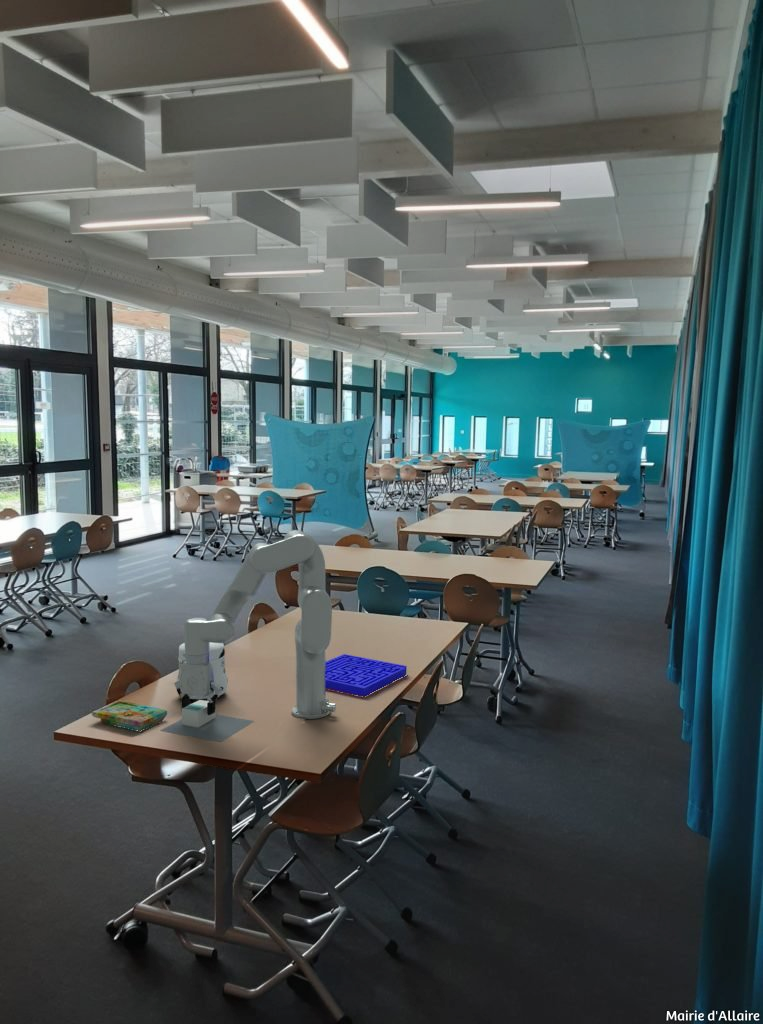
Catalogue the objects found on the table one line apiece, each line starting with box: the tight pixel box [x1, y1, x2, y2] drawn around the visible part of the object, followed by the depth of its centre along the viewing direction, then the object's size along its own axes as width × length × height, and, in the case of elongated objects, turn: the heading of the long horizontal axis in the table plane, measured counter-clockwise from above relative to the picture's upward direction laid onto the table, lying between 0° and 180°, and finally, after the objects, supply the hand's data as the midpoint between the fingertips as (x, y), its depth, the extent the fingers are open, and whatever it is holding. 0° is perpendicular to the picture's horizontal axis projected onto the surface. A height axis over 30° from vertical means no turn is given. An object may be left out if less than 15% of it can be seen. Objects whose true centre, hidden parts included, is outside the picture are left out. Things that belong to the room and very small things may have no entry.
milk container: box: [176, 642, 229, 702], centre depth 259 cm, size 17×17×18 cm
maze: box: [325, 653, 407, 698], centre depth 279 cm, size 30×30×4 cm
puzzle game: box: [91, 700, 168, 732], centre depth 235 cm, size 12×5×20 cm
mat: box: [160, 713, 255, 743], centre depth 231 cm, size 22×18×1 cm
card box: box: [181, 700, 217, 727], centre depth 235 cm, size 9×6×5 cm, turn 157°
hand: (198, 711), depth 235 cm, fingers open, 9 cm apart
